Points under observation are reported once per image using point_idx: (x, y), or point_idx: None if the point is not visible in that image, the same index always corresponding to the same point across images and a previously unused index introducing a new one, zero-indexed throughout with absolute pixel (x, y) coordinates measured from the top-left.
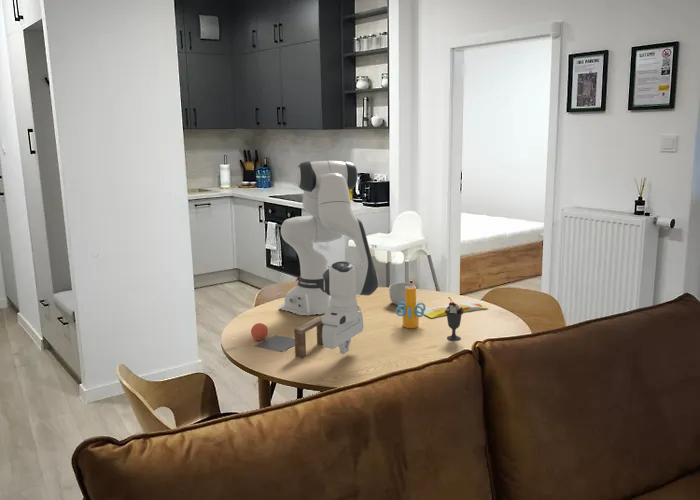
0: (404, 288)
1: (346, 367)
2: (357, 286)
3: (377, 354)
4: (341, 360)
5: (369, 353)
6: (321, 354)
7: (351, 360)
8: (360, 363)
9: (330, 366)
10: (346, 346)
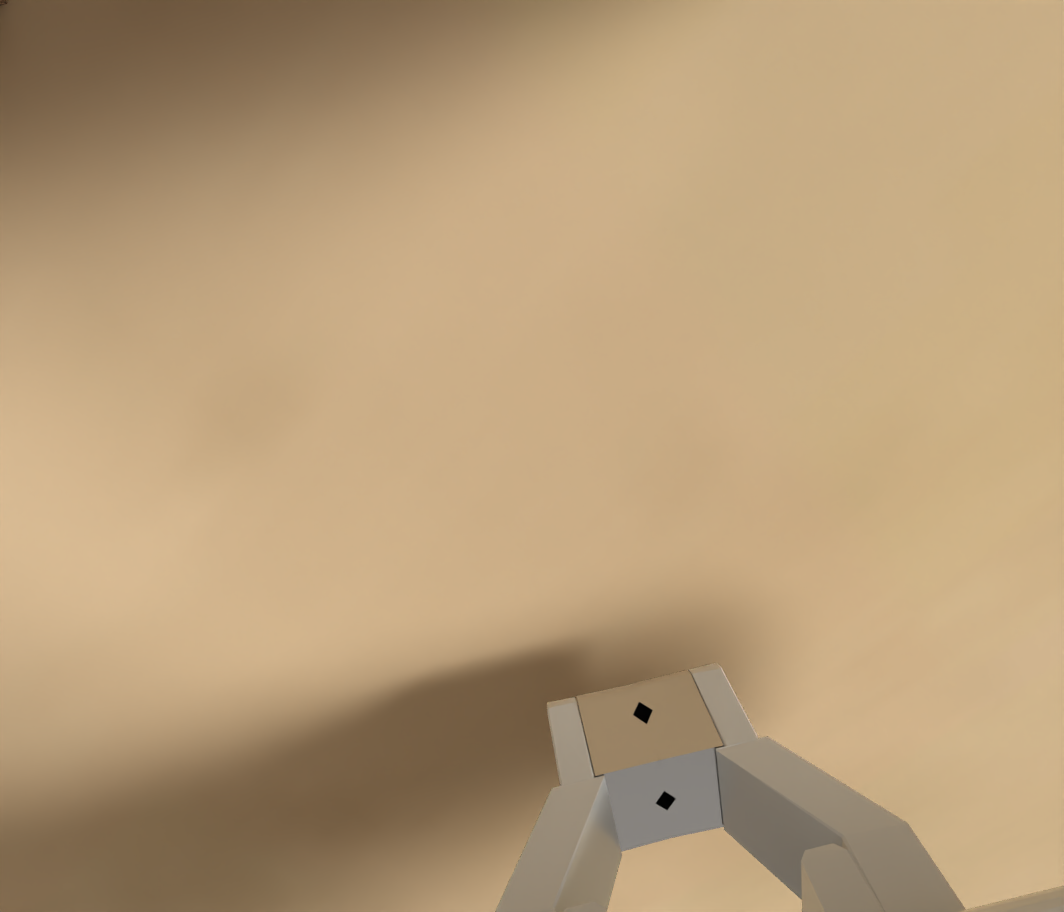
0: None
1: (341, 881)
2: None
3: (941, 829)
4: (477, 697)
5: (930, 758)
6: (424, 232)
7: None
8: None
9: (171, 749)
10: (727, 805)
